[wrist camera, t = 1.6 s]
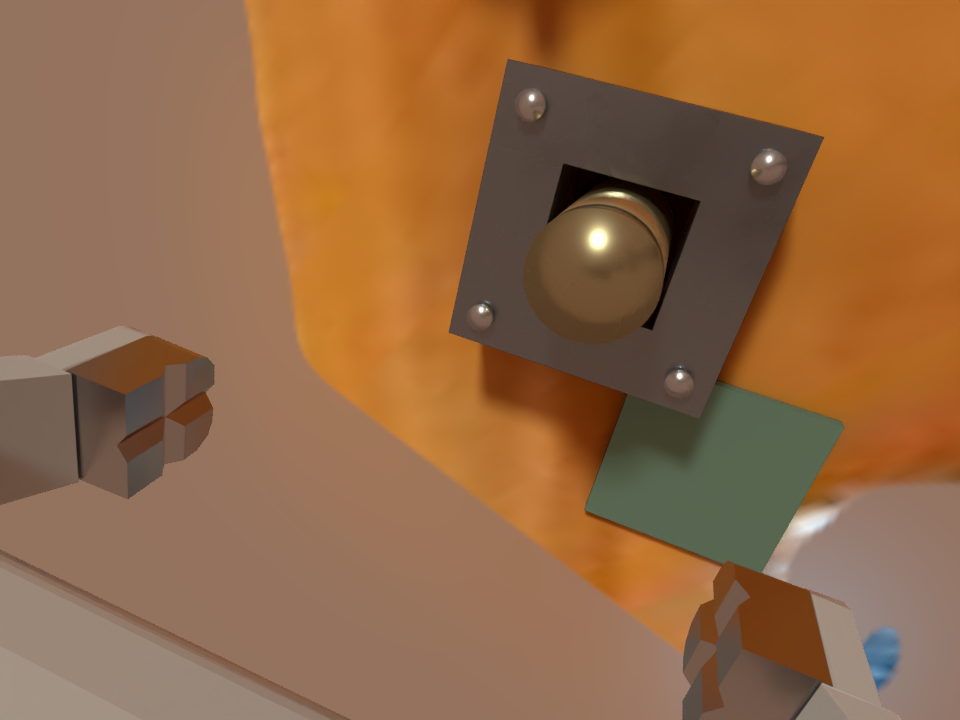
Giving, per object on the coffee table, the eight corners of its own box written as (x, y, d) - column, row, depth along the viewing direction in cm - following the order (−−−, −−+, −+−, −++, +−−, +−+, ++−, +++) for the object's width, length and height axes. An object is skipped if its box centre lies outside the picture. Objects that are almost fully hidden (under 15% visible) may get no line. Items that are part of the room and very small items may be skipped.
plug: (688, 192, 29) (684, 231, 20) (653, 288, 31) (635, 362, 22) (589, 164, 30) (542, 191, 21) (561, 259, 32) (509, 320, 23)
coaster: (841, 421, 30) (844, 427, 30) (757, 570, 35) (758, 577, 34) (641, 355, 32) (640, 360, 32) (585, 504, 37) (584, 510, 36)
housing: (803, 131, 26) (826, 137, 22) (699, 374, 32) (699, 423, 27) (536, 65, 29) (504, 58, 24) (481, 302, 34) (445, 335, 29)
